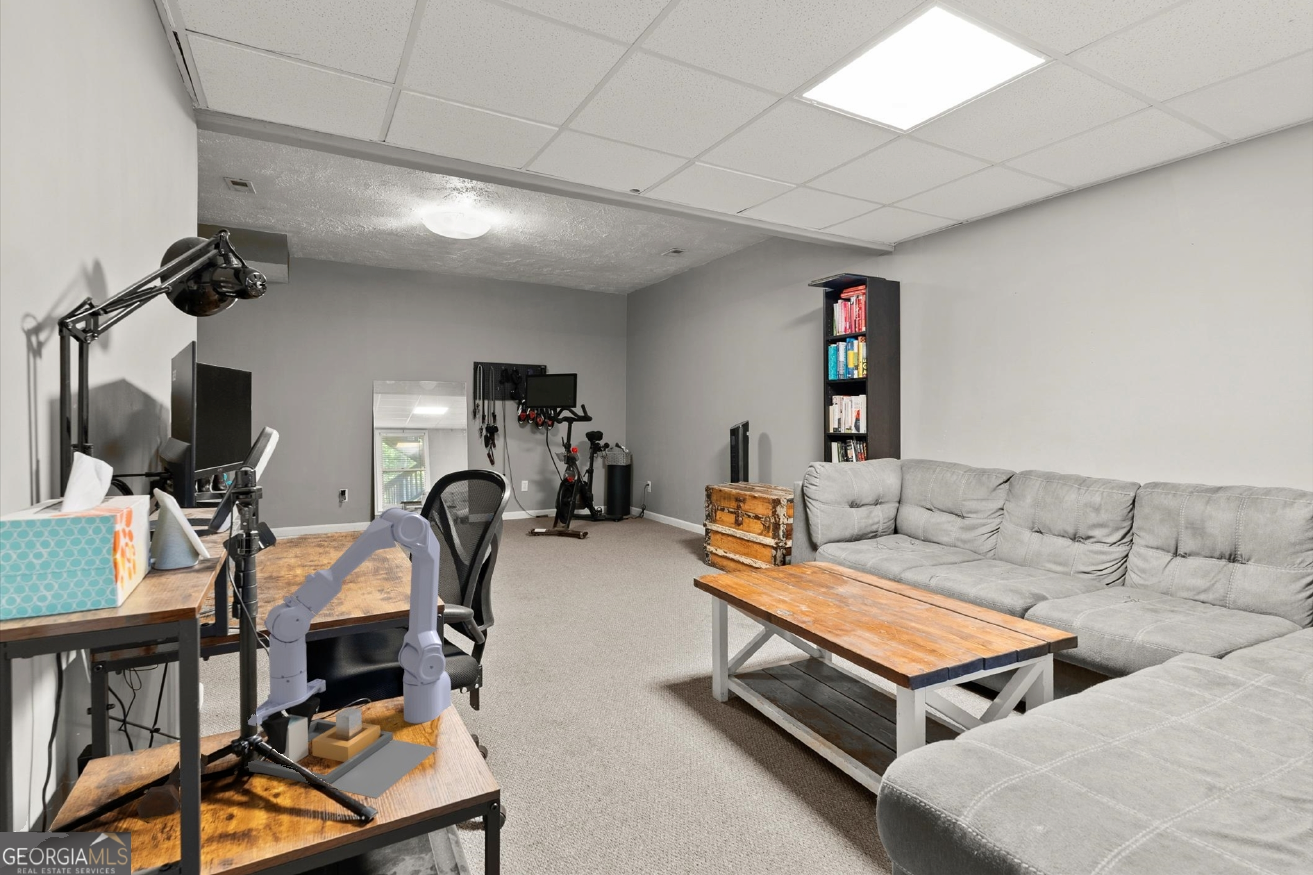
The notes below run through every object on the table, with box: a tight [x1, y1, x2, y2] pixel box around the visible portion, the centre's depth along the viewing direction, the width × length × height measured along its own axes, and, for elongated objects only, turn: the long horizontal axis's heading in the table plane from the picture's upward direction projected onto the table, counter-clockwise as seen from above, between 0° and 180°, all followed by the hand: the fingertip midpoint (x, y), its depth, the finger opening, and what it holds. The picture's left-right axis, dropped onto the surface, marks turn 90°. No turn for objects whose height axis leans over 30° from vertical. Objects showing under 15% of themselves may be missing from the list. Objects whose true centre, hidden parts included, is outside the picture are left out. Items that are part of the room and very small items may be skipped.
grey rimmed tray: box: [248, 718, 394, 785], centre depth 116 cm, size 16×18×4 cm
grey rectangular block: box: [335, 706, 363, 742], centre depth 117 cm, size 3×3×7 cm
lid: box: [330, 739, 439, 800], centre depth 111 cm, size 16×11×1 cm, turn 163°
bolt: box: [136, 752, 209, 824], centre depth 105 cm, size 6×5×15 cm
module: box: [272, 713, 309, 764], centre depth 114 cm, size 4×4×7 cm
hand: (290, 746), depth 114 cm, fingers closed on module, 4 cm apart
